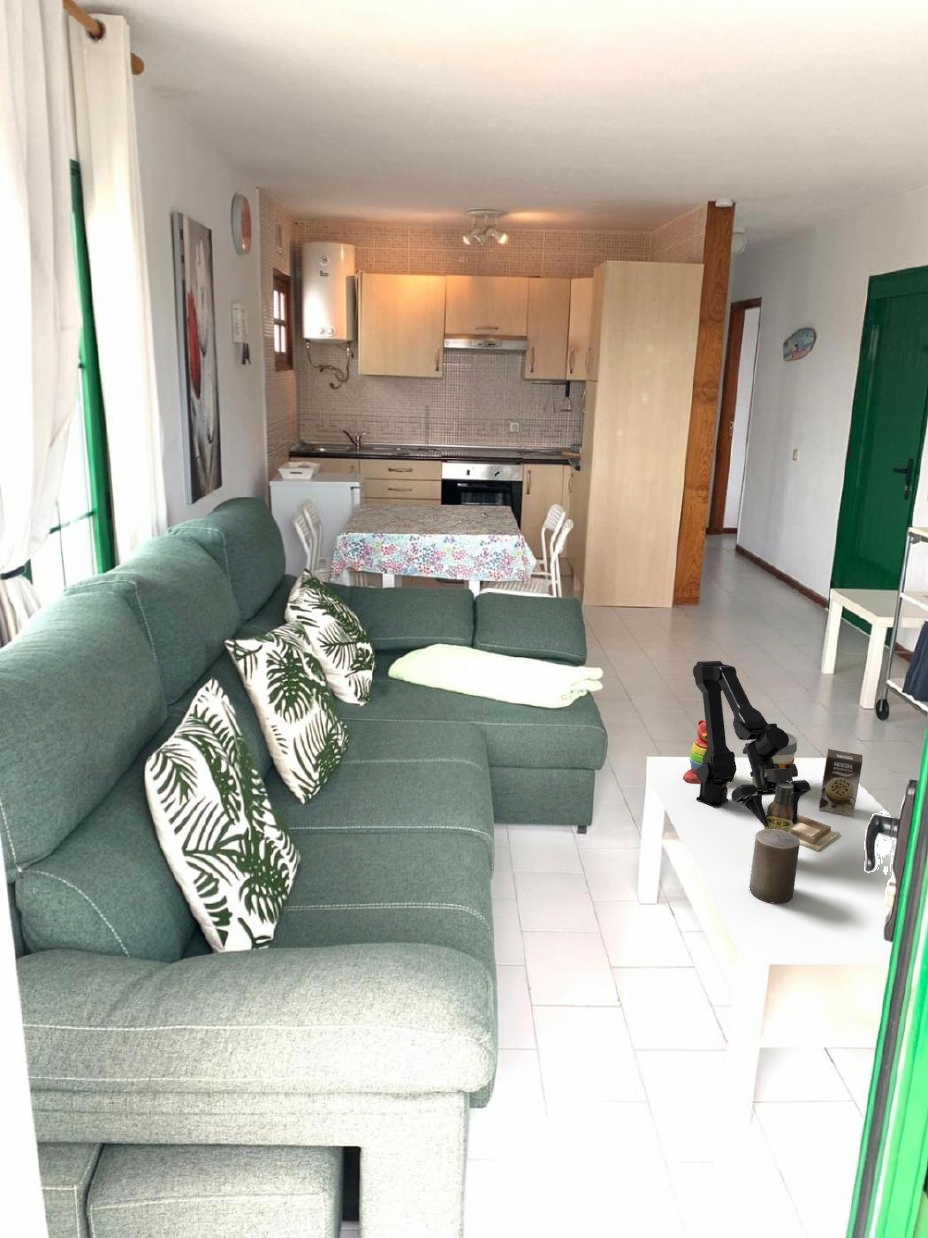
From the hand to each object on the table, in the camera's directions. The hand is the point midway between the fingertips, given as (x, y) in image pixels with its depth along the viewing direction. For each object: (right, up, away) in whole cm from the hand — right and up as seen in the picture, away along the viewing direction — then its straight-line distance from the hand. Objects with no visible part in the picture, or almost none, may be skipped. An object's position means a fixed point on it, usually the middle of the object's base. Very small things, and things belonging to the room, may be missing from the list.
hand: (781, 825), depth 232 cm
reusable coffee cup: (+11, +2, +44) cm, 46 cm away
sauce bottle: (-1, -9, +4) cm, 10 cm away
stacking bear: (-7, +3, +47) cm, 48 cm away
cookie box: (+25, -3, +31) cm, 40 cm away
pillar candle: (-6, -13, -11) cm, 18 cm away
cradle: (+11, -6, +17) cm, 21 cm away
